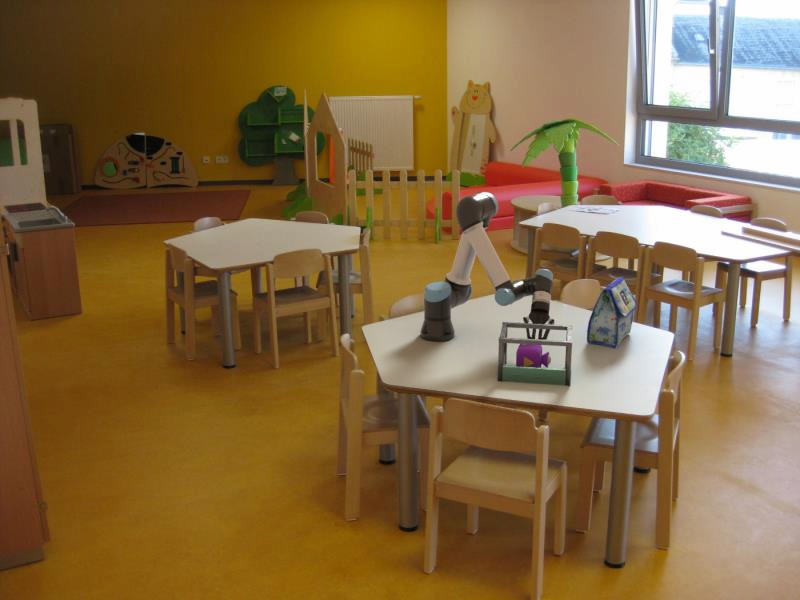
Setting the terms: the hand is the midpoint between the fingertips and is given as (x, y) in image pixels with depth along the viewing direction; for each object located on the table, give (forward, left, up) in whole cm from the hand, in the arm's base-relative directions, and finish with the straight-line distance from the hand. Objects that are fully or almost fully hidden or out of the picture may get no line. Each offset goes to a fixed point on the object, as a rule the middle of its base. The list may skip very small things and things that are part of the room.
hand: (534, 356), depth 341 cm
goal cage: (+1, -8, -4) cm, 9 cm away
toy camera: (0, -4, -4) cm, 6 cm away
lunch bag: (+32, +38, -4) cm, 49 cm away
